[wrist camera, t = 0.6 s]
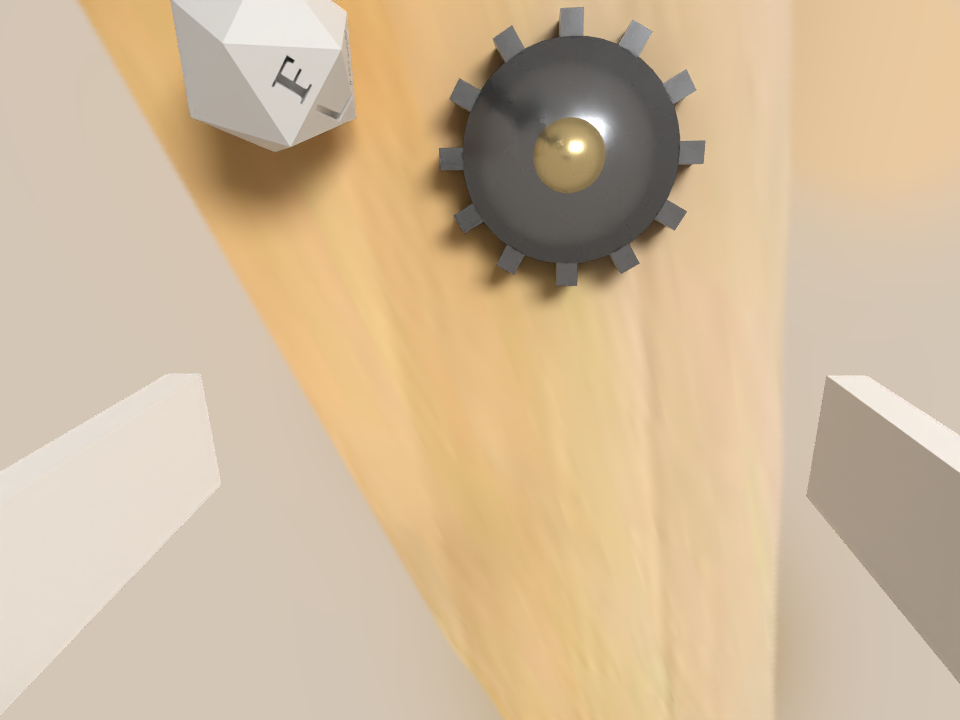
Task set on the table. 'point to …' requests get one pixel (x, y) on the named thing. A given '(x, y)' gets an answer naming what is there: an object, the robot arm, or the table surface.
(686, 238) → the table surface
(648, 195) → the gear plate
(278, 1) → the die
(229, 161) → the table surface
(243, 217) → the table surface
